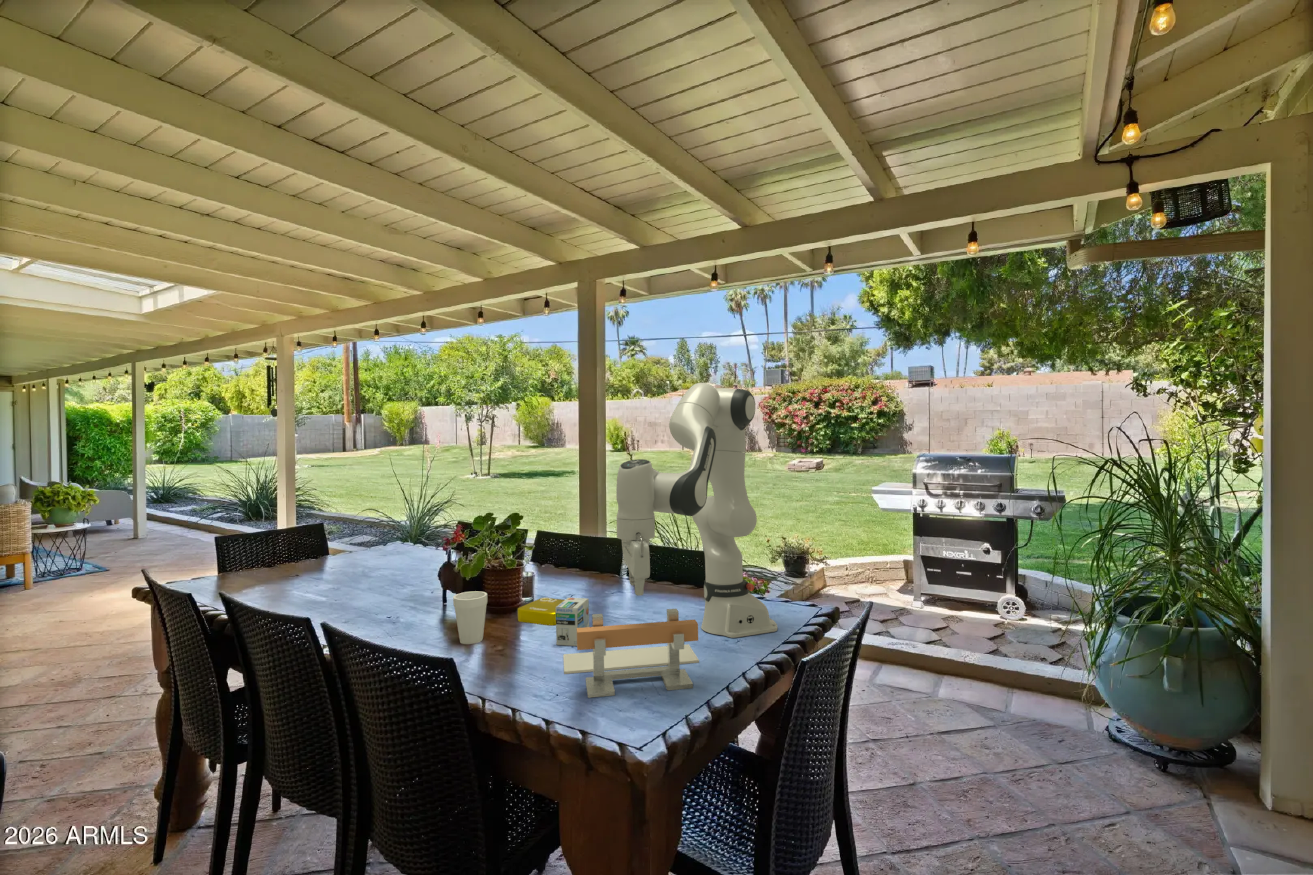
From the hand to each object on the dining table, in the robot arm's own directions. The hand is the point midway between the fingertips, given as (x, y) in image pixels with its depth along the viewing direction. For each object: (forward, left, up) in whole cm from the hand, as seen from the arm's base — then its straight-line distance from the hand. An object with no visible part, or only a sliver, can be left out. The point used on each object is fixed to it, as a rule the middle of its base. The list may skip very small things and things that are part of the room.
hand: (636, 589), depth 141 cm
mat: (0, -17, -22) cm, 28 cm away
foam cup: (+43, -42, -23) cm, 64 cm away
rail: (0, 0, -12) cm, 12 cm away
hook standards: (0, 0, -22) cm, 22 cm away
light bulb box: (+14, -36, -23) cm, 45 cm away
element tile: (+21, -60, -23) cm, 68 cm away
